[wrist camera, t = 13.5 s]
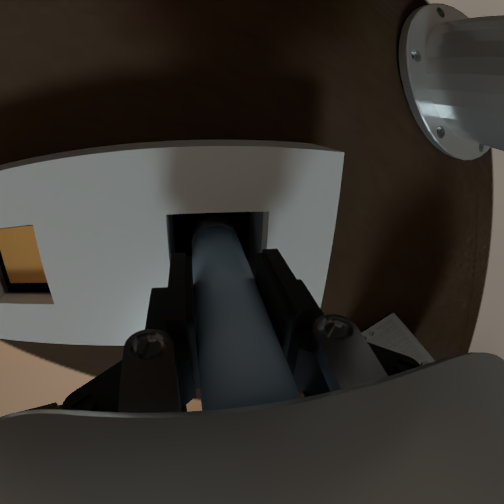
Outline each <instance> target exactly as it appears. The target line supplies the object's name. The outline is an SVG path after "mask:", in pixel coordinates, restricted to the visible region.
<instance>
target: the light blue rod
mask: <svg viewBox="0 0 504 504" xmlns="http://www.w3.org/2000/svg"><path fill="white" fill-rule="evenodd" d="M192 271H193V289H194V309H195V326H196V340H197V353H198V371H199V382H200V393H201V402H202V411H207V410H219V409H229V408H239V407H247V406H255V405H262V404H269V403H275V402H282V401H287V400H293V399H298V398H301V395H300V393H299V390H298V388H297V385H296V383H295V380H294V378H293V375H292V373H291V370H290V368H289V365H288V363H287V360H286V358H285V355H284V353H283V350H282V348H281V345H280V343H279V340H278V338H277V335H276V333H275V330H274V328H273V325H272V323H271V320H270V318H269V315H268V312H267V310H266V307H265V305H264V302H263V300H262V297H261V295H260V292H259V290H258V287H257V285H256V282H255V279H254V277H253V274H252V272H251V269H250V267H249V264H248V262H247V259H246V256H245V254H244V251H243V249H242V246H241V244H240V241H239V238H238V236H237V233H236V231H235V228H234V226H233V225H232V224H231V222H229V221H228V220H227V219H225V218H223V217H219V216H210V217H206V218H204V219H202V220H201V221H199V222H198V223H197V224H196V226H195V227H194V229H193V232H192Z"/></svg>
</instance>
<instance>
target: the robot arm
mask: <svg viewBox="0 0 504 504" xmlns="http://www.w3.org/2000/svg"><path fill="white" fill-rule="evenodd" d="M399 65H400V75H401V79H402V83H403V88H404V92H405V95H406V98H407V100H408V103H409V106H410V109H411V111H412V113H413V115H414V117H415V119H416V122H417V124H418V125H419V127H420V128H421V130H422V131H423V133H424V134H425V136H426V137H427V138H428V139H429V140H430V142H431V143H432V144H433V145H434V146H435V147H436V148H438V149H439V150H440V151H442V152H443V153H445V154H447V155H449V156H452V157H455V158H458V159H462V160H473V159H475V158H478V157H480V156H482V155H483V154H484V153H485V152H487V151H488V149H489V148H490V147H492V148H496V149H499V150H503V151H504V16H489V17H477V18H467V16H465V15H464V14H463V13H462V12H460V11H458V10H457V9H455V8H453V7H451V6H448V5H444V4H429V5H425V6H421V7H419V8H418V9H416V10H414V11H413V12H412V13H411V14H410V15H409V16H408V17H407V19H406V21H405V23H404V25H403V27H402V31H401V36H400V40H399ZM255 282H256V285H257V287H258V290H259V292H260V295H261V297H262V300H263V302H264V305H265V307H266V310H267V312H268V315H269V318H270V320H271V323H272V325H273V328H274V330H275V333H276V335H277V338H278V340H279V343H280V345H281V348H282V350H283V353H284V355H285V358H286V360H287V363H288V365H289V368H290V370H291V373H292V375H293V378H294V380H295V383H296V385H297V388H298V390H299V393H300V395H301V398H298V399H293V400H287V401H282V402H275V403H269V404H262V405H255V406H247V407H239V408H229V409H219V410H207V411H192V412H187V408H186V404H187V403H188V402H189V401H191V400H192V399H193V398H196V389H197V388H200V382H199V371H198V353H197V340H196V326H195V309H194V289H193V273H192V256H186V253H171V260H170V270H169V279H168V287H161V288H152V289H151V294H150V300H149V306H148V312H147V319H146V325H145V330H141V331H138V332H136V333H134V334H132V335H131V336H130V337H129V338H128V339H127V340H126V342H125V345H124V349H123V358H122V360H121V361H120V362H118V363H117V364H115V365H114V366H112V367H111V368H109V369H108V370H106V371H105V372H103V373H102V374H100V375H99V376H97V377H95V378H94V379H92V380H91V381H89V382H88V383H86V384H85V385H83V386H82V387H81V388H79V389H77V390H76V391H74V392H72V393H71V394H70V395H69V396H68V397H67V398H66V399H65V401H64V402H63V405H59V406H58V405H57V403H52V404H48V405H44V406H41V407H37V408H33V409H29V410H25V411H20V412H17V413H12V414H9V415H5V416H2V417H0V504H504V360H503V359H501V358H500V357H498V356H497V355H494V354H489V353H465V354H459V355H455V356H450V357H446V358H443V359H440V360H437V361H434V362H421V364H419V363H418V362H417V361H416V360H415V359H413V358H411V357H409V356H406V355H403V354H400V353H398V352H395V351H392V350H389V349H386V348H383V347H380V346H377V345H375V344H372V343H369V342H367V341H366V340H365V338H364V337H363V335H362V333H361V332H360V330H359V329H358V327H357V326H356V325H355V323H354V322H353V321H351V320H350V319H348V318H346V317H344V316H341V315H336V314H327V315H324V314H323V312H322V311H321V309H320V307H319V306H318V304H317V303H316V301H315V300H314V298H313V296H312V295H311V293H310V292H309V290H308V289H307V287H306V286H305V284H304V283H303V281H302V280H301V279H296V277H295V276H294V274H293V273H292V271H291V269H290V268H289V266H288V265H287V263H286V261H285V260H284V258H283V257H282V255H281V254H280V252H279V250H278V249H263V250H262V253H257V260H256V278H255Z"/></svg>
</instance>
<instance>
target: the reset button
mask: <svg viewBox="0 0 504 504" xmlns="http://www.w3.org/2000/svg"><path fill="white" fill-rule="evenodd" d="M0 251H1V254H2V258H3V261H4V265H5V268H6V271H7V274H8V277H9V280H10V283H47V279H46V276H45V273H44V269H43V265H42V262H41V258H40V254H39V250H38V246H37V241H36V237H35V232H34V228H33V225H25V226H16V227H8V228H0Z"/></svg>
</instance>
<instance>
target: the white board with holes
mask: <svg viewBox="0 0 504 504" xmlns="http://www.w3.org/2000/svg"><path fill="white" fill-rule="evenodd" d="M343 160H344V152H341V151H337V150H334V149H330V148H327V147H323V146H319V145H315V144H312V143H300V142H286V141H266V140H176V141H157V142H143V143H131V144H120V145H111V146H102V147H94V148H86V149H79V150H72V151H66V152H60V153H54V154H49V155H43V156H38V157H33V158H28V159H24V160H19V161H15V162H10V163H6V164H2V165H0V228H8V227H16V226H25V225H33V228H34V232H35V237H36V241H37V246H38V250H39V254H40V258H41V262H42V265H43V269H44V273H45V276H46V279H47V283H48V286H49V289H50V292H9V291H8V288H7V285H6V282H5V279H4V276H3V273H2V270H1V267H0V339H9V340H18V341H29V342H41V343H56V344H76V345H125V342H126V340H127V339H128V338H129V337H130V336H131V335H132V334H134V333H136V332H138V331H141V330H145V325H146V319H147V312H148V306H149V300H150V294H151V289H152V288H161V287H168V279H169V270H170V260H171V253H175V241H174V225H173V214H192V213H221V212H251V213H250V236H249V260H247V262H248V264H249V267H250V269H251V272H252V274H253V277H254V279H255V278H256V260H257V253H262V250H263V249H278V250H279V252H280V254H281V255H282V257H283V258H284V260H285V261H286V263H287V265H288V266H289V268H290V269H291V271H292V273H293V274H294V276H295V277H296V279H301V280H302V281H303V283H304V284H305V286H306V287H307V289H308V290H309V292H310V293H311V295H312V296H313V298H314V300H315V301H316V303H317V304H318V306H319V307H321V302H322V297H323V292H324V287H325V282H326V277H327V271H328V266H329V260H330V254H331V248H332V242H333V236H334V230H335V223H336V216H337V209H338V202H339V194H340V186H341V178H342V169H343ZM192 273H193V271H192Z"/></svg>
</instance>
